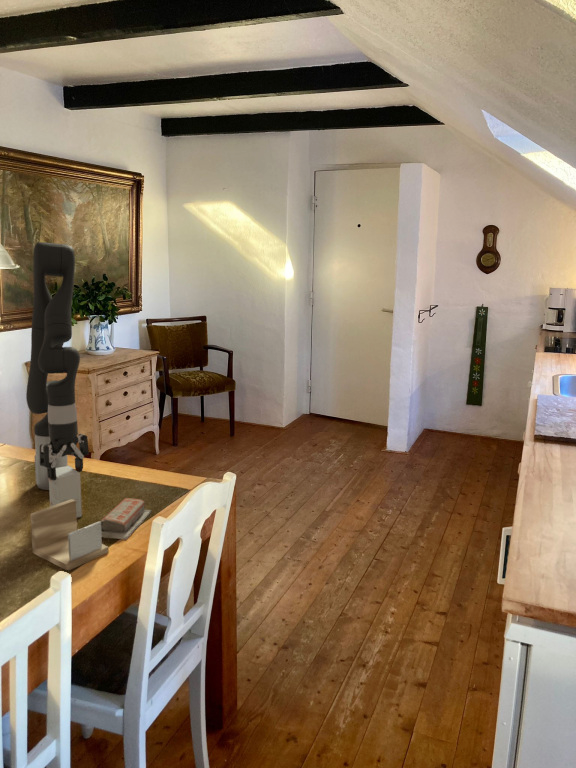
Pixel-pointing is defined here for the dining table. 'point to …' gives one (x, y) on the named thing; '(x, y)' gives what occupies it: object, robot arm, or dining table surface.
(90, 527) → the grey rectangular panel
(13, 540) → the dining table surface
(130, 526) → the packaged product
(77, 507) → the small box
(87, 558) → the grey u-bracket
